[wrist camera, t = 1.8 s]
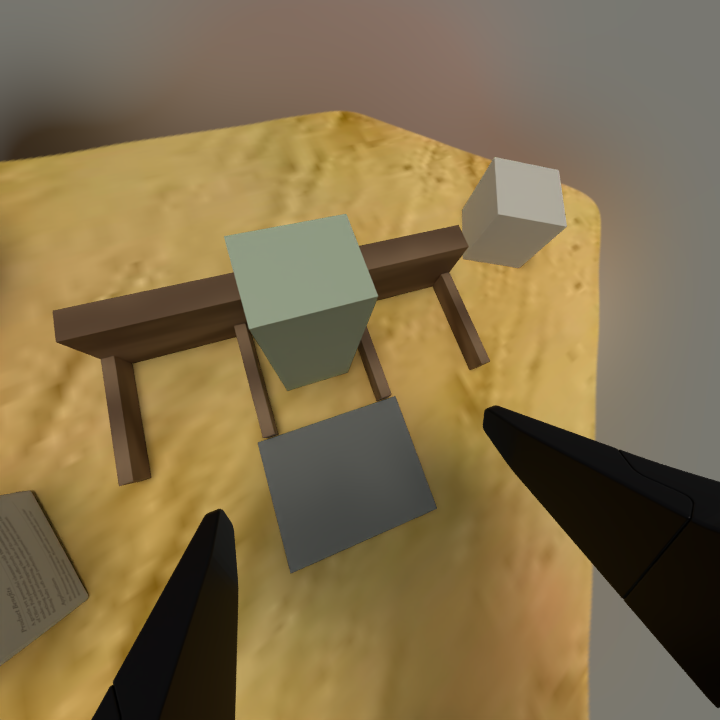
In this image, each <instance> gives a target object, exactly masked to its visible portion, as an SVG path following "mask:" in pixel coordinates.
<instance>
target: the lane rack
mask: <svg viewBox="0 0 720 720" xmlns="http://www.w3.org/2000/svg"><path fill="white" fill-rule="evenodd" d="M468 247H469V246H468V244H467V242H466V240H465V237H464V235H463V233H462V231H461V229H460V227H459V225H456V226H451V227H447V228H442V229H437V230H433V231H428V232H423V233H418V234H414V235H409V236H404V237H399V238H395V239H390V240H385V241H380V242H376V243H371V244H366V245H362V246H359V248H360V251H361V253H362V256H363V258H364V261H365V264H366V266H367V269H368V271H369V274H370V276H371V279H372V281H373V284H374V287H375V289H376V292H377V294H378V298H377V300H381V299H384V298H388V297H392V296H396V295H400V294H404V293H408V292H412V291H415V290H419V289H423V288H427V287H431V286H433V288H434V290H435V292H436V295H437V297H438V299H439V301H440V304H441V306H442V308H443V311H444V313H445V315H446V317H447V320H448V322H449V324H450V326H451V329H452V331H453V333H454V336H455V338H456V340H457V342H458V345H459V347H460V349H461V351H462V354H463V356H464V358H465V361H466V363H467V365H468V367H469V370H471V369H474V368H477V367H479V366H481V365H484V364H486V363H488V362H490V360H489V358H488V355H487V353H486V351H485V349H484V347H483V345H482V342H481V340H480V338H479V336H478V334H477V331H476V329H475V327H474V325H473V323H472V321H471V318H470V316H469V314H468V312H467V310H466V308H465V305H464V303H463V301H462V299H461V297H460V295H459V292H458V290H457V288H456V286H455V284H454V281H453V279H452V277H451V275H450V273H449V272H450V271H451V269H452V268H453V267H454V265H455V264H456V263H457V261H458V260H459V259H460V258H461V256H462V255H463V254H464V252H465V251H466V250H467V248H468ZM53 319H54V328H55V338H56V342H57V343H60V344H62V345H65V346H68V347H70V348H73V349H75V350H78V351H81V352H83V353H86V354H89V355H91V356H94V357H96V358H99V359H101V364H102V371H103V378H104V385H105V392H106V399H107V406H108V413H109V420H110V427H111V434H112V441H113V448H114V455H115V462H116V469H117V476H118V483H119V486H122V485H126V484H131V483H135V482H139V481H142V480H145V479H148V478H151V474H150V468H149V462H148V456H147V450H146V444H145V438H144V432H143V426H142V420H141V414H140V408H139V402H138V396H137V390H136V384H135V378H134V372H133V366H132V363H136V362H140V361H144V360H147V359H151V358H155V357H159V356H163V355H167V354H171V353H175V352H179V351H182V350H186V349H190V348H194V347H198V346H202V345H206V344H210V343H214V342H217V341H221V340H225V339H229V338H233V337H237V340H238V343H239V347H240V351H241V355H242V359H243V363H244V367H245V370H246V374H247V378H248V382H249V386H250V390H251V394H252V398H253V401H254V405H255V409H256V413H257V417H258V421H259V425H260V429H261V432H262V436H263V438H270V437H273V436H276V435H279V434H278V431H277V427H276V423H275V420H274V416H273V412H272V408H271V405H270V401H269V397H268V394H267V390H266V386H265V383H264V379H263V375H262V372H261V368H260V364H259V361H258V357H257V353H256V349H255V346H254V342H253V338H252V335H251V331H250V330H249V327H248V323H247V320H246V316H245V312H244V308H243V305H242V301H241V297H240V294H239V290H238V286H237V283H236V279H235V275H234V273H229V274H224V275H220V276H215V277H210V278H205V279H201V280H196V281H191V282H186V283H182V284H177V285H172V286H168V287H163V288H158V289H153V290H149V291H144V292H139V293H134V294H130V295H125V296H120V297H116V298H111V299H106V300H101V301H97V302H92V303H87V304H82V305H78V306H73V307H68V308H63V309H59V310H54V311H53ZM358 350H359V353H360V356H361V358H362V361H363V364H364V367H365V370H366V372H367V375H368V378H369V381H370V384H371V386H372V389H373V392H374V395H375V398H376V401H379V400H382V399H385V398H387V397H389V396H390V395H392V394H391V391H390V389H389V386H388V383H387V380H386V378H385V375H384V372H383V370H382V367H381V364H380V361H379V359H378V356H377V353H376V351H375V348H374V345H373V343H372V340H371V337H370V334H369V332H368V329H367V326H366V328H365V330H364V333H363V335H362V338H361V340H360V343H359V345H358Z"/></svg>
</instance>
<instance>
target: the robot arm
mask: <svg viewBox="0 0 720 720" xmlns="http://www.w3.org/2000/svg"><path fill="white" fill-rule="evenodd" d="M483 429H484V431H485V433H486V434H487V436H488V437H489V438H490V440H491V441H492V443H493V444H494V445H495V447H496V448H497V450H498V451H499V453H500V454H501V455H502V457H503V458H504V460H505V461H506V463H507V464H508V465H509V467H510V468H511V469H512V470H513V472H514V473H515V474H516V475H517V476H518V477H519V479H520V480H521V481H522V482H523V483H524V484H525V486H526V487H527V488H528V489H529V490H530V491H531V493H532V494H533V495H534V496H535V497H536V498H537V500H538V501H539V502H540V503H541V504H542V505H543V507H544V508H545V509H546V510H547V511H548V512H549V514H550V515H551V516H552V517H553V518H554V519H555V521H556V522H557V523H558V524H559V525H560V526H561V528H562V529H563V530H564V531H565V532H566V533H567V535H568V536H569V537H570V538H571V539H572V540H573V542H574V543H575V544H576V545H577V546H578V547H579V549H580V550H581V551H582V552H583V553H584V554H585V556H586V557H587V558H588V559H589V560H590V561H591V563H592V564H593V565H594V566H595V567H596V568H597V570H598V571H599V572H600V573H601V574H602V575H603V577H604V578H605V579H606V580H607V581H608V582H609V584H610V585H611V586H612V587H613V588H614V589H615V590H616V592H617V593H618V594H619V595H620V596H621V597H622V598H623V599H624V601H625V602H626V603H627V605H628V606H629V607H630V608H631V609H632V611H633V612H634V613H635V614H636V615H637V616H638V617H639V619H640V620H641V621H642V622H643V623H644V624H645V626H646V627H647V628H648V629H649V630H650V632H651V633H652V634H653V635H654V636H655V637H656V638H657V640H658V641H659V642H660V643H661V644H662V645H663V647H664V648H665V649H666V650H667V651H668V653H669V654H670V655H671V656H672V657H673V658H674V659H675V661H676V662H677V663H678V664H679V665H680V666H681V668H682V669H683V670H684V671H685V672H686V673H687V675H688V676H689V677H690V678H691V679H692V680H693V681H694V683H695V684H696V685H697V686H698V687H699V688H700V690H701V691H702V692H703V693H704V694H705V696H706V697H707V698H708V699H709V700H710V701H711V702H712V703H713V704H714V705H715V706H716V707H717V708H720V482H718V481H715V480H712V479H708V478H705V477H702V476H698V475H695V474H692V473H688V472H685V471H682V470H679V469H676V468H672V467H669V466H666V465H663V464H659V463H657V462H654V461H651V460H648V459H645V458H642V457H639V456H636V455H633V454H631V453H628V452H625V451H622V450H618V449H616V448H613V447H611V446H608V445H605V444H602V443H599V442H597V441H594V440H592V439H589V438H586V437H583V436H580V435H578V434H575V433H572V432H569V431H567V430H564V429H561V428H558V427H556V426H553V425H550V424H547V423H544V422H542V421H539V420H536V419H533V418H531V417H528V416H525V415H522V414H519V413H517V412H514V411H511V410H508V409H506V408H503V407H500V406H492V407H489V408H487V409H485V411H484V419H483ZM237 628H238V574H237V562H236V550H235V538H234V528H233V525H232V523H231V521H230V520H229V518H228V517H227V515H226V514H225V512H224V511H223V510H222V509H217V510H215V511H212V512H209V513H207V514H206V515H205V516H204V518H203V520H202V522H201V523H200V525H199V527H198V529H197V531H196V532H195V534H194V536H193V538H192V540H191V541H190V543H189V545H188V547H187V549H186V550H185V552H184V554H183V556H182V558H181V559H180V561H179V563H178V565H177V567H176V568H175V570H174V572H173V574H172V576H171V577H170V579H169V581H168V583H167V585H166V587H165V588H164V590H163V592H162V594H161V596H160V597H159V599H158V601H157V603H156V605H155V606H154V608H153V610H152V612H151V614H150V615H149V617H148V619H147V621H146V623H145V624H144V626H143V628H142V630H141V632H140V633H139V635H138V637H137V639H136V641H135V642H134V644H133V646H132V648H131V650H130V652H129V653H128V655H127V657H126V659H125V661H124V662H123V664H122V666H121V668H120V670H119V671H118V673H117V675H116V677H115V679H114V680H113V685H112V686H110V687H109V689H108V691H107V693H106V695H105V696H104V698H103V700H102V702H101V704H100V705H99V707H98V709H97V711H96V713H95V714H94V716H93V718H92V720H235V703H236V665H237Z"/></svg>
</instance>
